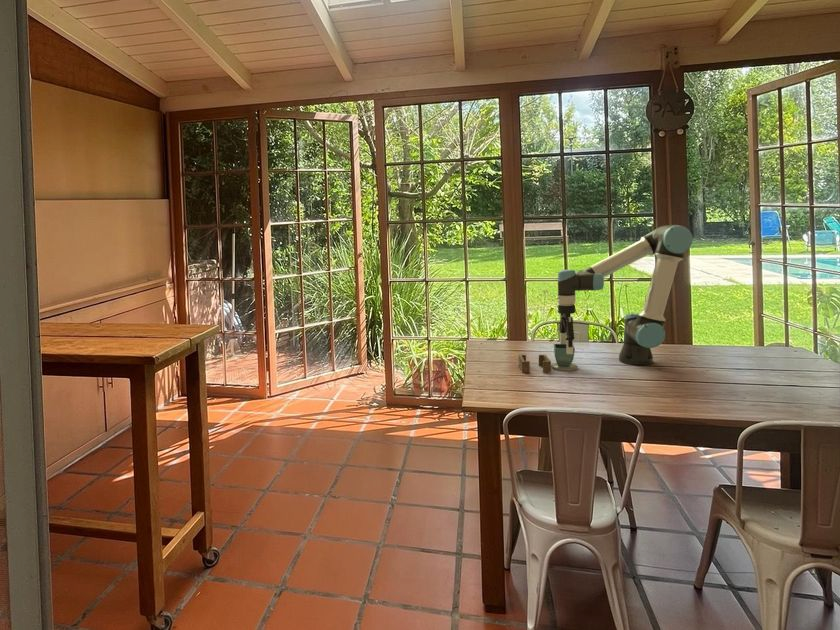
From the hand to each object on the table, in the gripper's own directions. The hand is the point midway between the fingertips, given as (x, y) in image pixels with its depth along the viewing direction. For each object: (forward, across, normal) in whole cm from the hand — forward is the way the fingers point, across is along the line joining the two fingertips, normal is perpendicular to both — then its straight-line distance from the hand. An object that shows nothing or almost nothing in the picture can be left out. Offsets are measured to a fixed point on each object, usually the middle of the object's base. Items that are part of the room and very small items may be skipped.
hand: (566, 350), depth 242 cm
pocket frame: (+8, +2, -15) cm, 17 cm away
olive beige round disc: (+8, 0, -1) cm, 8 cm away
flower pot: (+7, -2, -1) cm, 8 cm away
